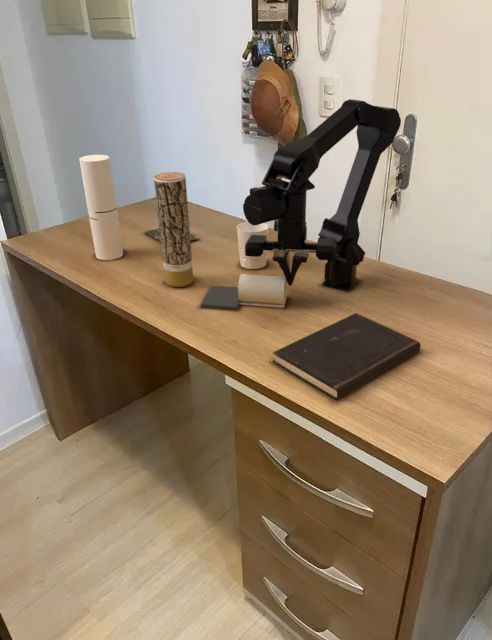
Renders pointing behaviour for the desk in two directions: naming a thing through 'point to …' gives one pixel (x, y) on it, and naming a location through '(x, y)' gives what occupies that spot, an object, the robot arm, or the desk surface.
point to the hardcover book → (345, 354)
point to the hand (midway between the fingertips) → (290, 284)
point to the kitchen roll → (262, 290)
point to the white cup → (243, 234)
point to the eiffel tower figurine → (157, 234)
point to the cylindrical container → (101, 206)
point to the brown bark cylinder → (174, 228)
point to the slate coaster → (221, 298)
